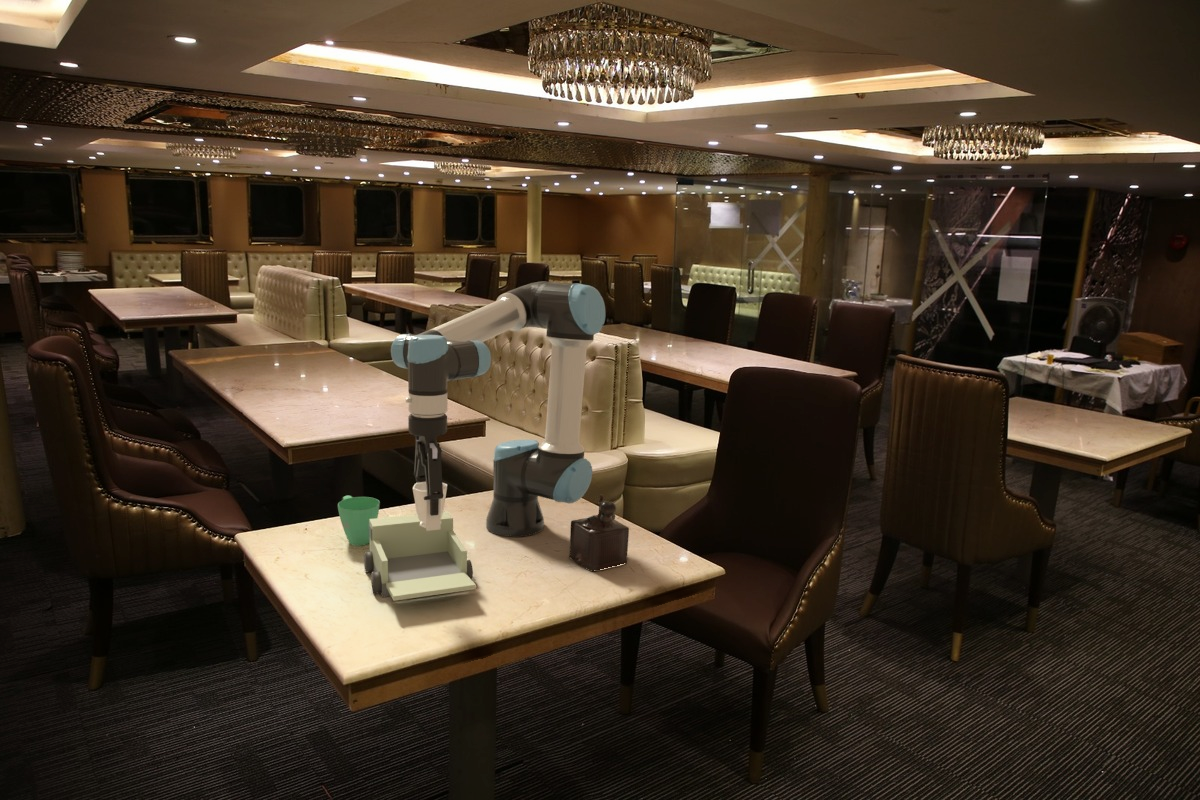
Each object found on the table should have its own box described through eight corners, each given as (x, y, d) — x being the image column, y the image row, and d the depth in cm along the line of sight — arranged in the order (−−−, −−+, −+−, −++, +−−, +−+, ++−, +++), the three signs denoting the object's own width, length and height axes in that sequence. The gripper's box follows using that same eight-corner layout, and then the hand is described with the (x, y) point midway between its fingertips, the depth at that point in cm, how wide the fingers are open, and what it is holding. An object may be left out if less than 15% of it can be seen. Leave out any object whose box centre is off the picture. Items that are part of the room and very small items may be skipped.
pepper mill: (565, 557, 188) (568, 486, 185) (603, 549, 195) (606, 479, 191) (602, 581, 176) (605, 505, 172) (641, 572, 182) (645, 498, 178)
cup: (417, 532, 153) (416, 493, 152) (405, 515, 162) (405, 478, 161) (452, 527, 157) (452, 489, 155) (439, 511, 165) (439, 475, 164)
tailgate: (464, 572, 169) (475, 584, 161) (464, 578, 169) (475, 590, 161) (386, 582, 163) (393, 596, 154) (386, 588, 163) (393, 602, 155)
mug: (386, 544, 192) (386, 505, 190) (347, 552, 186) (346, 512, 184) (364, 526, 203) (363, 489, 201) (326, 533, 197) (325, 495, 195)
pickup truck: (454, 554, 188) (454, 510, 185) (473, 584, 172) (474, 537, 169) (363, 565, 179) (362, 519, 177) (375, 598, 163) (374, 548, 161)
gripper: (399, 403, 164) (400, 504, 168) (419, 427, 143) (419, 542, 148) (435, 401, 167) (435, 501, 171) (459, 425, 146) (459, 538, 151)
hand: (428, 520), depth 159 cm, fingers closed on cup, 10 cm apart
